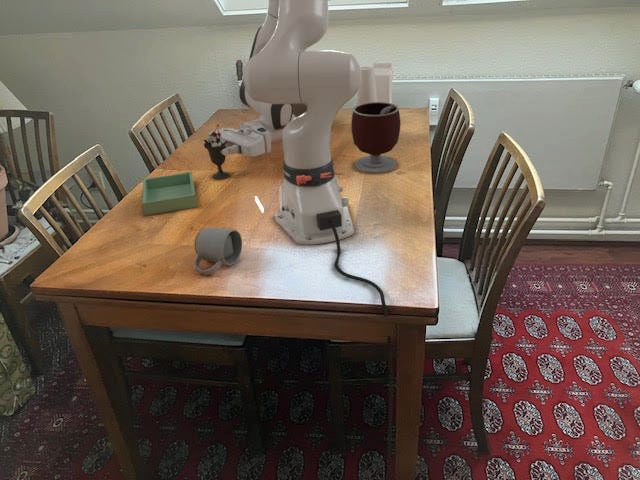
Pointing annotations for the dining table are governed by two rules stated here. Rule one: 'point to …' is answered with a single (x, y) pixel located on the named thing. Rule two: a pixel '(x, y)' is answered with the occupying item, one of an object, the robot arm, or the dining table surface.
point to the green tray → (168, 193)
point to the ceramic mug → (217, 247)
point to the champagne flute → (366, 86)
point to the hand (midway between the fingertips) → (214, 149)
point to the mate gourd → (375, 135)
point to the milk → (383, 82)
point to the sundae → (216, 153)
